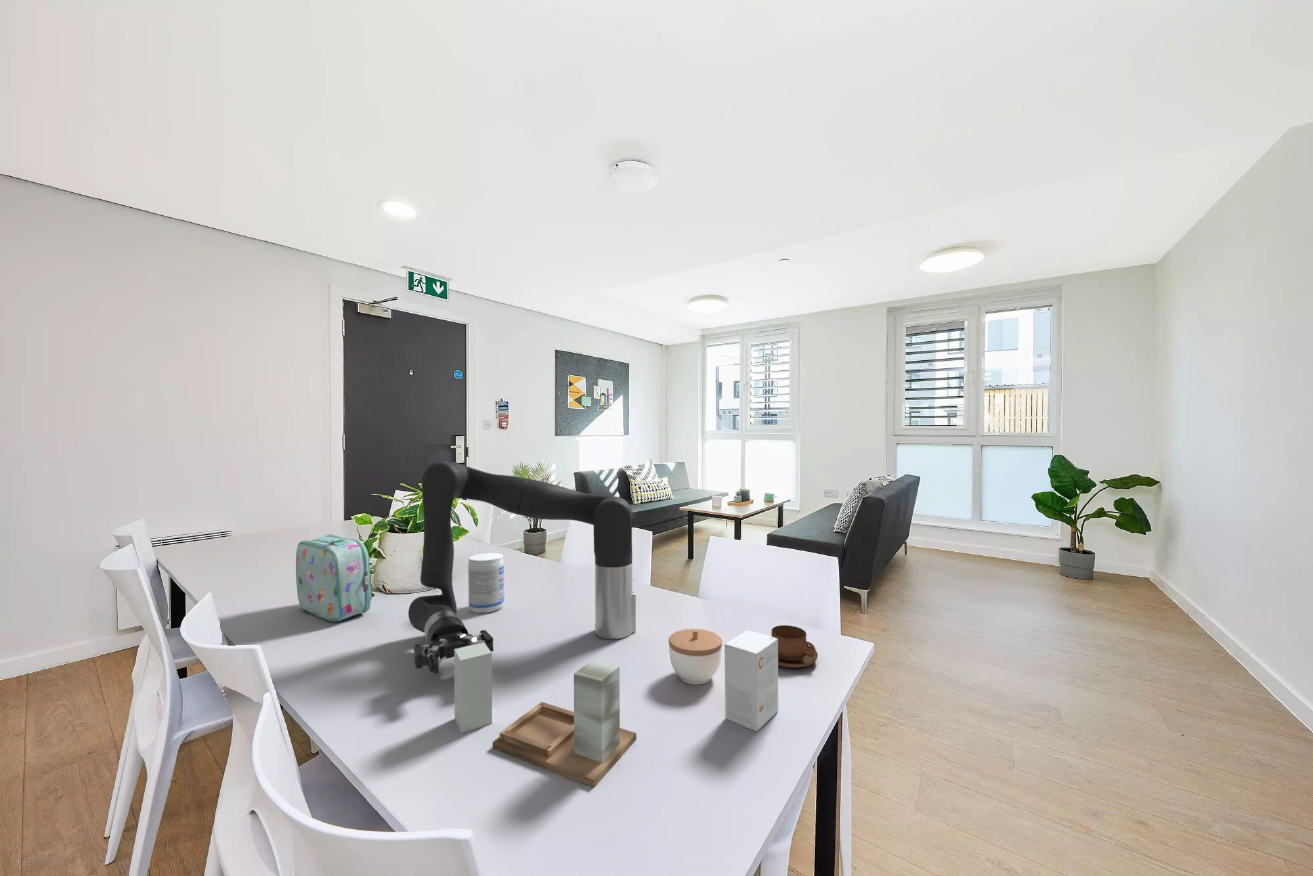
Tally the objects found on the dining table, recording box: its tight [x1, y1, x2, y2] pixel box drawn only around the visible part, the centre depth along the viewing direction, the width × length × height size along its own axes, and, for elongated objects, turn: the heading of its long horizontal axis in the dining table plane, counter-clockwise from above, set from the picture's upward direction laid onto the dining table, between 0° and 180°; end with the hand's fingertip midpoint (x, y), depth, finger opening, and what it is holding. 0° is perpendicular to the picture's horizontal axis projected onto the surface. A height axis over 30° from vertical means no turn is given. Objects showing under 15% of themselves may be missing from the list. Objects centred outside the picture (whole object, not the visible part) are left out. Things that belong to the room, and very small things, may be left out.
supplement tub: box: [467, 552, 505, 614], centre depth 139 cm, size 10×10×15 cm
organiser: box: [492, 659, 637, 788], centre depth 77 cm, size 12×19×13 cm, turn 63°
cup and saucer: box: [771, 624, 819, 669], centre depth 106 cm, size 12×12×6 cm
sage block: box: [453, 643, 493, 734], centre depth 84 cm, size 5×5×12 cm
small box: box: [724, 629, 779, 732], centre depth 85 cm, size 8×6×13 cm
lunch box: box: [295, 533, 373, 622], centre depth 136 cm, size 27×10×21 cm, turn 58°
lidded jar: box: [668, 628, 723, 686], centre depth 99 cm, size 11×11×9 cm
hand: (461, 662), depth 91 cm, fingers open, 8 cm apart
